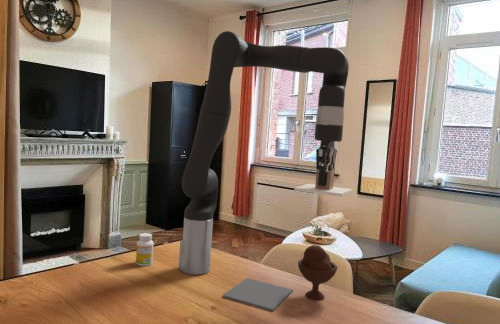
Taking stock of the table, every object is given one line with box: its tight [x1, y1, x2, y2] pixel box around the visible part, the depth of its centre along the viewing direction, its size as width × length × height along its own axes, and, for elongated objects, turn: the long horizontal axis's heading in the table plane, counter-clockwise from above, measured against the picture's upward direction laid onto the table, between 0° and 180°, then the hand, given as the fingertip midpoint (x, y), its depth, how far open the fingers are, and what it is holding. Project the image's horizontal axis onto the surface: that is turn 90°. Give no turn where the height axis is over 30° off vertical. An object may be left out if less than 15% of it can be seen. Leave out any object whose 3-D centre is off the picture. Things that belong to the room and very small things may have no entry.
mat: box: [222, 277, 294, 312], centre depth 105 cm, size 15×15×1 cm
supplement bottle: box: [135, 232, 155, 267], centre depth 123 cm, size 5×5×10 cm
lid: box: [293, 169, 353, 198], centre depth 104 cm, size 13×13×6 cm
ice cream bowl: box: [297, 244, 338, 302], centre depth 106 cm, size 11×11×15 cm
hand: (324, 184), depth 104 cm, fingers closed on lid, 4 cm apart
